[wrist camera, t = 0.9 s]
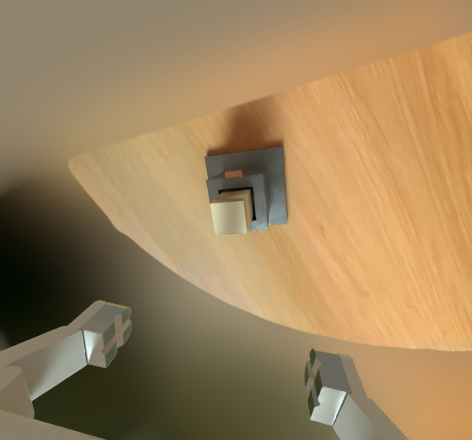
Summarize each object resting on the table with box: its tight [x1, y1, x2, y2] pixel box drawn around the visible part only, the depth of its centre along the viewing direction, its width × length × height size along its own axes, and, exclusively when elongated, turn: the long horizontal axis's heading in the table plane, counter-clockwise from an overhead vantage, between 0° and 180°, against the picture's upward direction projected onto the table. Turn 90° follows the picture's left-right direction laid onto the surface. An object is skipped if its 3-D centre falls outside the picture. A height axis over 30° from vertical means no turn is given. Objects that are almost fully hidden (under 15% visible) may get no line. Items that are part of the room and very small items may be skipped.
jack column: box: [210, 186, 255, 235], centre depth 33 cm, size 4×4×16 cm
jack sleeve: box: [205, 146, 287, 231], centre depth 37 cm, size 14×14×12 cm
